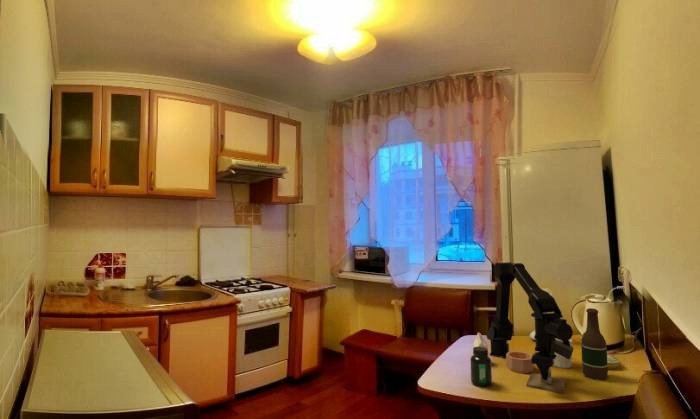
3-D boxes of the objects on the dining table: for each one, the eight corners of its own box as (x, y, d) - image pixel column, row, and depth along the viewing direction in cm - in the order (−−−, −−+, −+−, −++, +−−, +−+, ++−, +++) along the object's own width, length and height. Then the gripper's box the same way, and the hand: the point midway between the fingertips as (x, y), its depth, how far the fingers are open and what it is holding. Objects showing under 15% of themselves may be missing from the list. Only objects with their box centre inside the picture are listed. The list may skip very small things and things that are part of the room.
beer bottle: (577, 372, 139) (574, 307, 140) (597, 371, 139) (594, 306, 140) (592, 381, 131) (589, 312, 132) (613, 380, 132) (610, 311, 133)
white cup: (576, 369, 142) (575, 342, 142) (553, 368, 143) (552, 341, 144) (568, 361, 149) (567, 336, 150) (547, 360, 151) (546, 335, 151)
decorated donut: (624, 365, 145) (624, 355, 145) (616, 373, 138) (616, 363, 138) (593, 358, 153) (593, 349, 153) (584, 365, 146) (584, 355, 146)
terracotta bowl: (505, 370, 142) (504, 356, 142) (509, 362, 150) (509, 349, 150) (531, 375, 137) (530, 361, 137) (534, 366, 145) (534, 353, 145)
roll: (487, 335, 146) (472, 334, 148) (488, 366, 146) (473, 365, 148) (487, 331, 152) (472, 330, 154) (488, 361, 151) (473, 359, 153)
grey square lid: (526, 387, 128) (525, 372, 128) (531, 375, 137) (530, 361, 137) (563, 394, 122) (562, 379, 122) (565, 382, 131) (565, 367, 131)
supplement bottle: (486, 389, 126) (485, 353, 127) (467, 384, 131) (466, 349, 131) (495, 383, 131) (493, 348, 132) (476, 377, 136) (475, 344, 136)
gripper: (569, 343, 118) (571, 394, 117) (572, 329, 134) (574, 373, 133) (530, 338, 124) (532, 386, 124) (538, 324, 140) (539, 367, 139)
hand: (546, 378), depth 130 cm, fingers closed on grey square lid, 3 cm apart
